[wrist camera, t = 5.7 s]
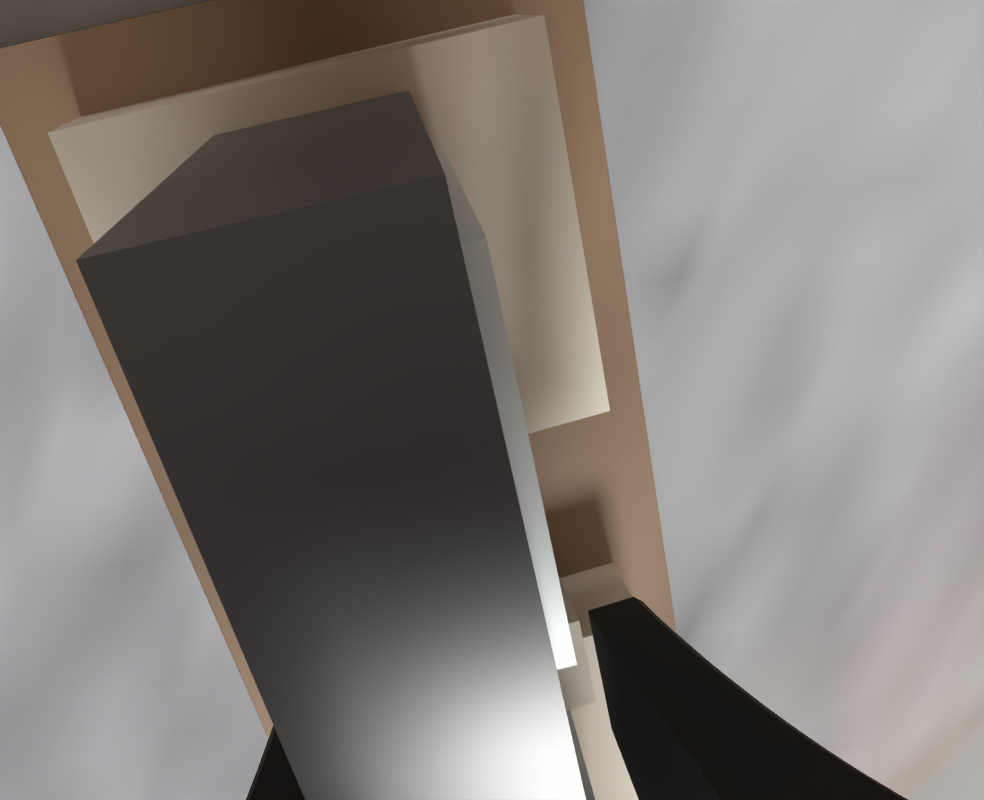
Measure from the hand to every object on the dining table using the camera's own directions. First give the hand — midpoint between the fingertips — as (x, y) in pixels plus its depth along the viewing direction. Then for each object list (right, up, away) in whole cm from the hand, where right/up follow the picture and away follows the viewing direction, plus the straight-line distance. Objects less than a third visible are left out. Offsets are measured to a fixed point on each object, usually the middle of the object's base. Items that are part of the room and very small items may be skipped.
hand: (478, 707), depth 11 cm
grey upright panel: (-1, +1, +2) cm, 3 cm away
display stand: (-1, +2, +5) cm, 5 cm away
